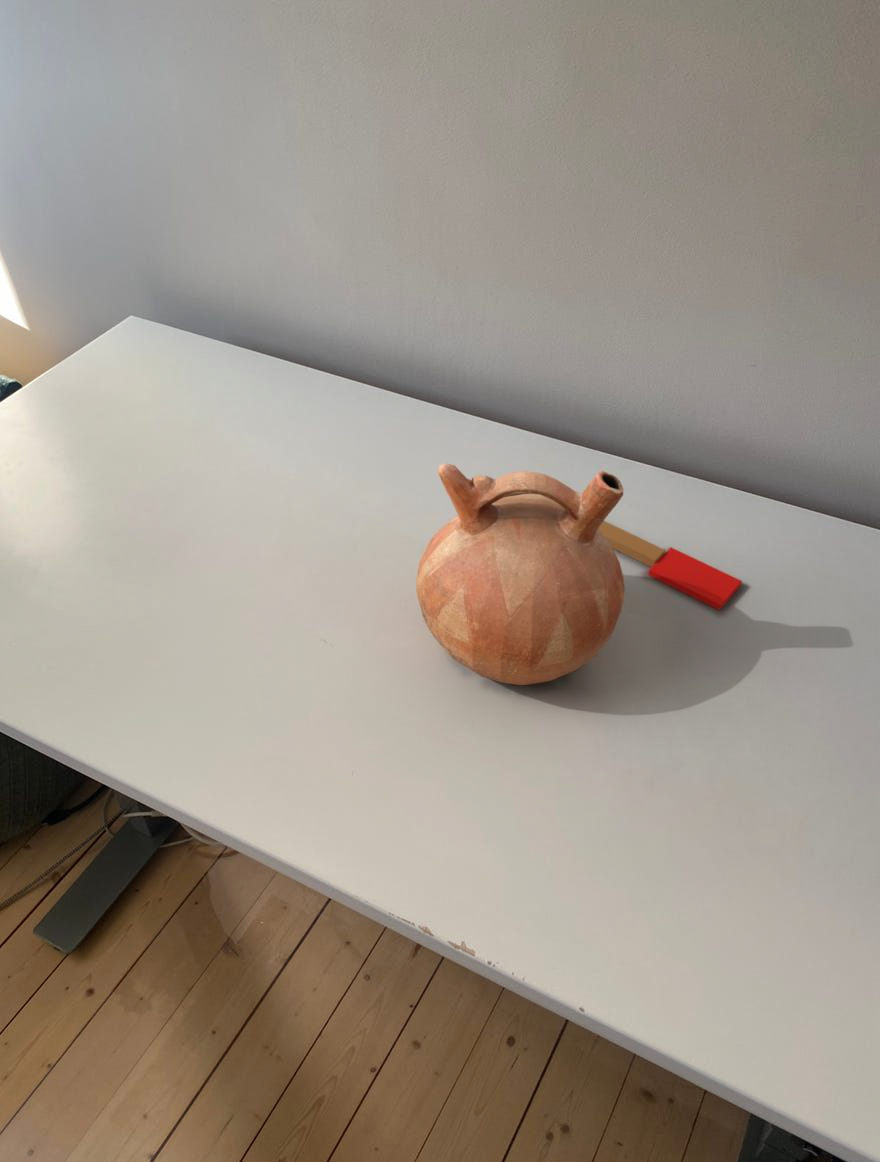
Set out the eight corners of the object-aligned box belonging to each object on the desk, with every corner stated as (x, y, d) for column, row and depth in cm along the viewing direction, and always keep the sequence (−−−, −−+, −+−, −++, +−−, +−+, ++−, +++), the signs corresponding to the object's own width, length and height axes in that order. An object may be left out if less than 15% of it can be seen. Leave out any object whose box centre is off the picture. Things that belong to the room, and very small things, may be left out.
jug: (402, 703, 84) (397, 535, 69) (432, 568, 96) (433, 401, 81) (609, 728, 81) (649, 560, 67) (612, 587, 94) (647, 418, 79)
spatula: (557, 499, 103) (558, 490, 102) (740, 586, 93) (743, 577, 92) (534, 518, 101) (535, 510, 100) (719, 610, 91) (722, 602, 90)
